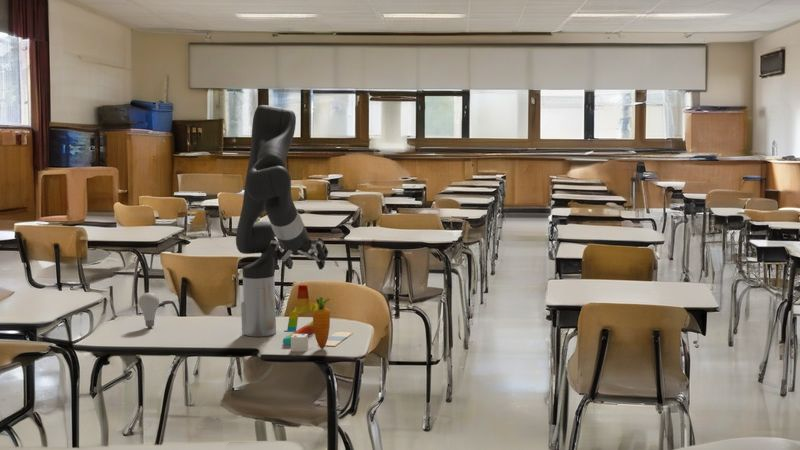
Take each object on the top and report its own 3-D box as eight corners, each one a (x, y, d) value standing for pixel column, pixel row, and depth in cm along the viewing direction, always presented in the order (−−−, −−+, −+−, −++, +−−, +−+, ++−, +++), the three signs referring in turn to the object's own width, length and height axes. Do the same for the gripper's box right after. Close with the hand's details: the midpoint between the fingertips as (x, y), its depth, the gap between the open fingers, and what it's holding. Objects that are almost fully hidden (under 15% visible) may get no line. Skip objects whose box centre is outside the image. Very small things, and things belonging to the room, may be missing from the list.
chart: (318, 322, 292) (317, 275, 291) (328, 323, 292) (326, 275, 290) (282, 345, 263) (280, 293, 262) (293, 346, 262) (291, 293, 261)
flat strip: (317, 345, 261) (317, 344, 261) (336, 332, 277) (336, 331, 277) (334, 346, 260) (334, 345, 260) (353, 333, 276) (353, 332, 276)
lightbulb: (144, 331, 283) (143, 295, 282) (136, 327, 288) (134, 292, 287) (163, 328, 287) (162, 292, 286) (155, 324, 292) (153, 290, 291)
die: (291, 351, 255) (290, 336, 255) (293, 348, 259) (293, 333, 259) (305, 351, 255) (305, 336, 255) (308, 348, 259) (307, 333, 259)
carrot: (317, 346, 260) (316, 293, 259) (334, 347, 259) (332, 294, 257) (310, 350, 256) (308, 296, 254) (326, 351, 254) (325, 297, 252)
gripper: (319, 215, 232) (335, 255, 245) (265, 215, 236) (284, 254, 248) (312, 239, 228) (329, 278, 240) (258, 239, 231) (277, 277, 244)
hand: (306, 266), depth 244 cm, fingers open, 8 cm apart
